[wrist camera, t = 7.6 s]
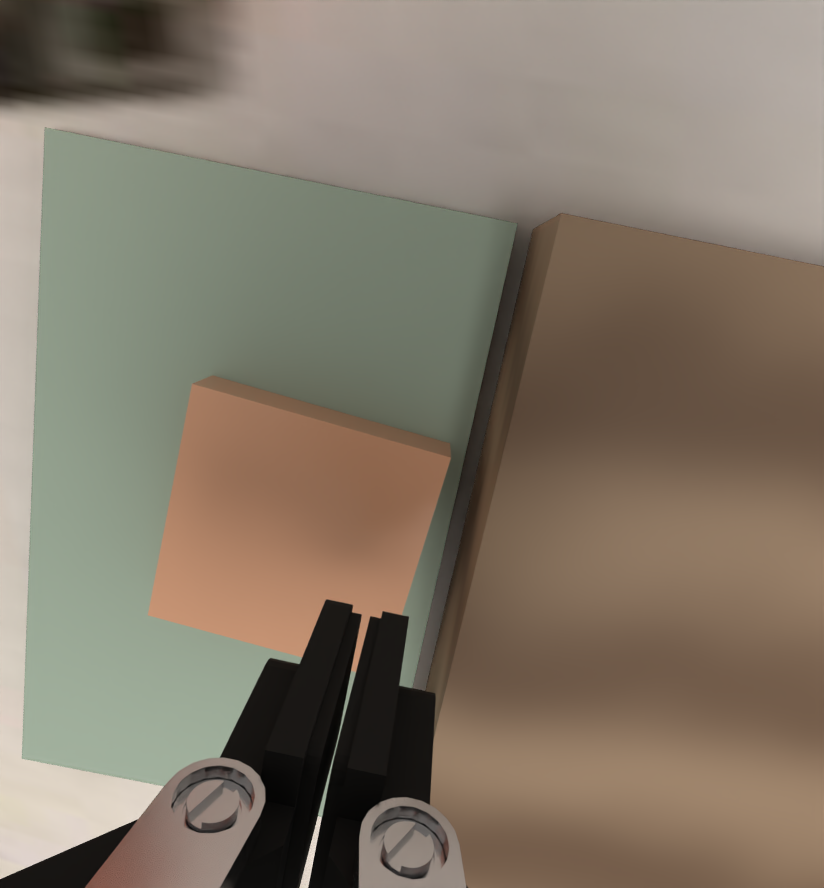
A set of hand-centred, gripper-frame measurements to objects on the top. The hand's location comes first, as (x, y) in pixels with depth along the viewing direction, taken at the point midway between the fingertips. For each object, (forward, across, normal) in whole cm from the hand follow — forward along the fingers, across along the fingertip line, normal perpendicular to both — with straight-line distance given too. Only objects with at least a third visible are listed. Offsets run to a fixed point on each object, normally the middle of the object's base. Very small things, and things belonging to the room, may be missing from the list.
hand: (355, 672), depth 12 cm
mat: (+7, +5, +1) cm, 8 cm away
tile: (+7, +3, 0) cm, 7 cm away
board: (+8, -8, +1) cm, 11 cm away
